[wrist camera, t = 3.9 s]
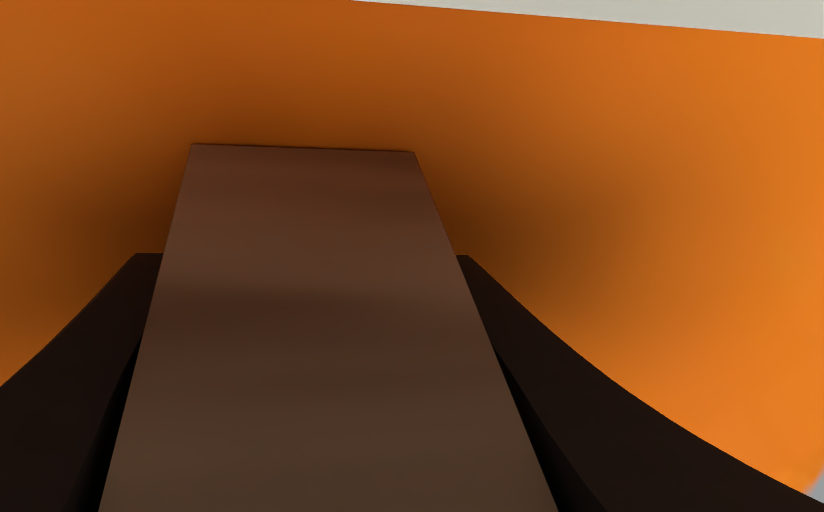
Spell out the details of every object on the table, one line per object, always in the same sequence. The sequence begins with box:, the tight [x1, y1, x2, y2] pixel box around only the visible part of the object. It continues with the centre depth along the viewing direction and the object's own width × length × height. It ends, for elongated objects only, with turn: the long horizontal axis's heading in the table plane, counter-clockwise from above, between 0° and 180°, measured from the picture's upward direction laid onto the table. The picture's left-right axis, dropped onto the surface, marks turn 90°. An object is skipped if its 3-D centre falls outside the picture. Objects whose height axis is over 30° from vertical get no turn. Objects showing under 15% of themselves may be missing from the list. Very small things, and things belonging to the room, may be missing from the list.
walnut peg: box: [98, 144, 558, 512], centre depth 8 cm, size 4×4×8 cm
